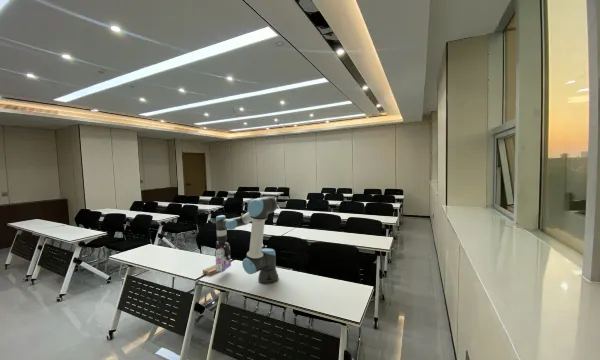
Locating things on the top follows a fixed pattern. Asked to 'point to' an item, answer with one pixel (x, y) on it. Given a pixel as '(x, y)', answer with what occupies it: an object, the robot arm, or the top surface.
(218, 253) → the candy box
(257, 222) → the robot arm
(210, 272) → the plinth
